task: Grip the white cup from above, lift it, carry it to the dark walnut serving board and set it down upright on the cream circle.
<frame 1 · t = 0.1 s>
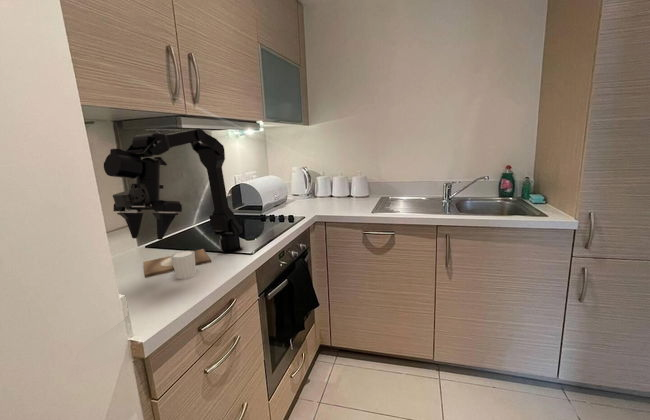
hand: (147, 238, 87), 15 cm above the worktop, tool pointing down, fingers open, 9 cm apart
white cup: (186, 276, 101), on the worktop
serving board: (177, 263, 112), on the worktop
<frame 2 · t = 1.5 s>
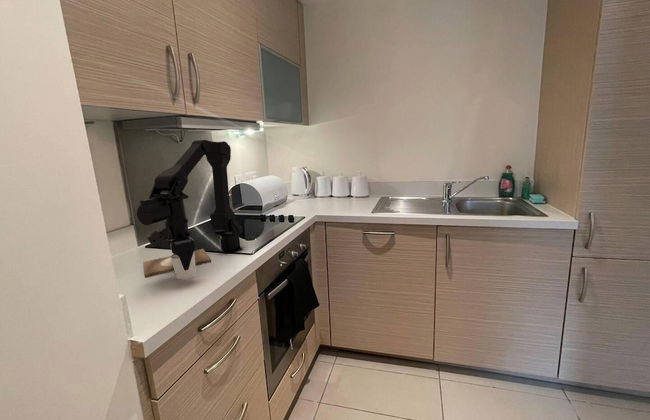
hand: (184, 265, 100), 3 cm above the worktop, tool pointing down, fingers open, 9 cm apart
nothing on the worktop moved.
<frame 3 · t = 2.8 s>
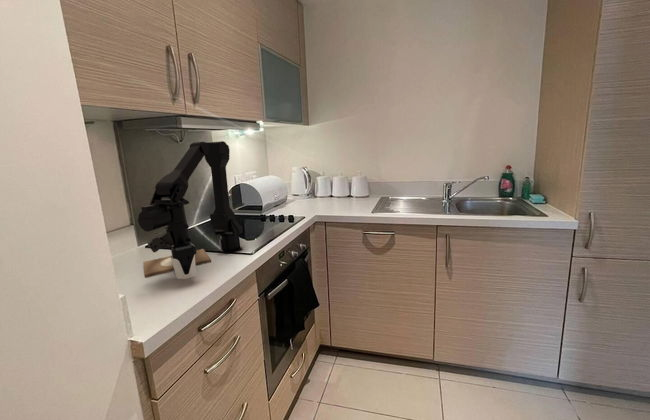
hand: (185, 270, 100), 2 cm above the worktop, tool pointing down, fingers closed on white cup, 6 cm apart
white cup: (186, 275, 101), on the worktop, touching gripper
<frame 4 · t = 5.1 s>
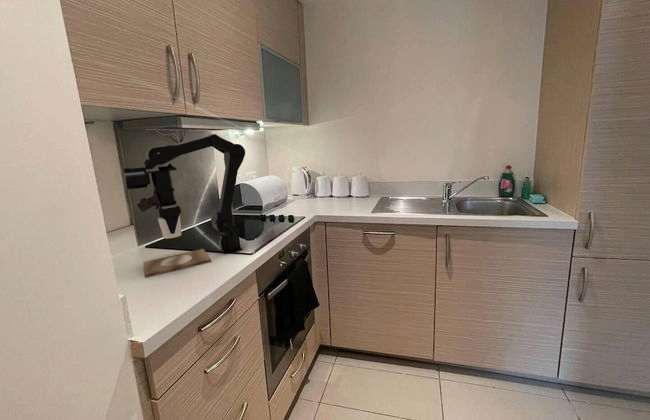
hand: (171, 231, 109), 11 cm above the worktop, tool pointing down, fingers closed on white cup, 6 cm apart
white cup: (172, 236, 110), point 10 cm above the worktop, touching gripper
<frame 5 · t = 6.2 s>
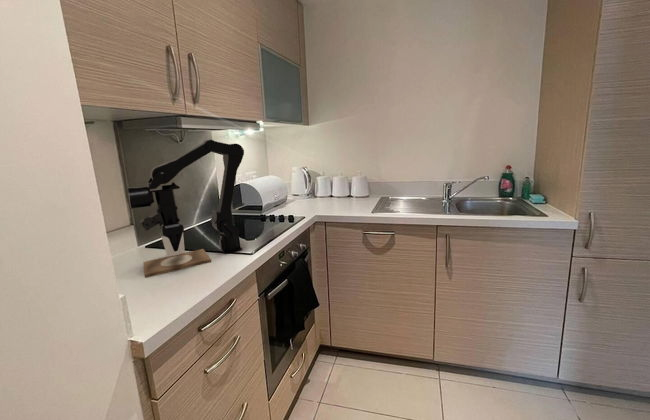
hand: (174, 248, 111), 5 cm above the worktop, tool pointing down, fingers closed on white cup, 6 cm apart
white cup: (176, 253, 111), point 4 cm above the worktop, touching gripper
when the fingers open (4 cm above the worktop, at t = 7.4 s): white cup drops 1 cm, resting on serving board.
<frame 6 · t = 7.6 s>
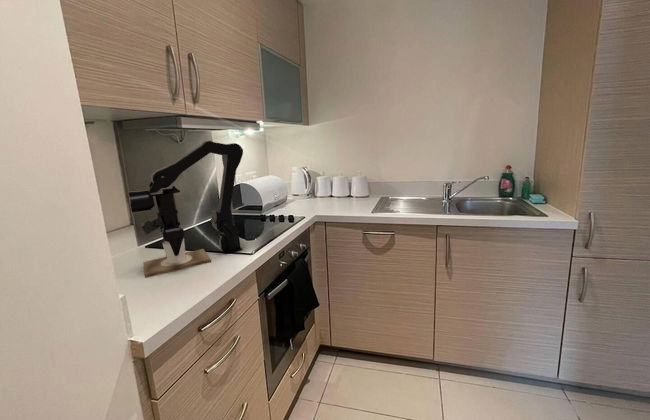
hand: (175, 252, 111), 4 cm above the worktop, tool pointing down, fingers open, 8 cm apart
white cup: (177, 260, 112), point 1 cm above the worktop, touching serving board
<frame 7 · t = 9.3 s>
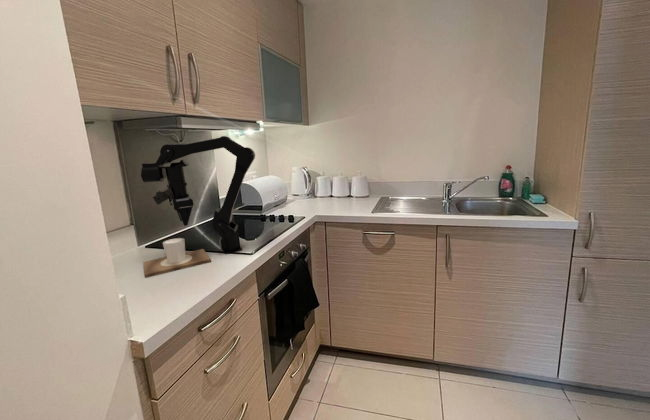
hand: (183, 223, 118), 12 cm above the worktop, tool pointing down, fingers open, 9 cm apart
nothing on the worktop moved.
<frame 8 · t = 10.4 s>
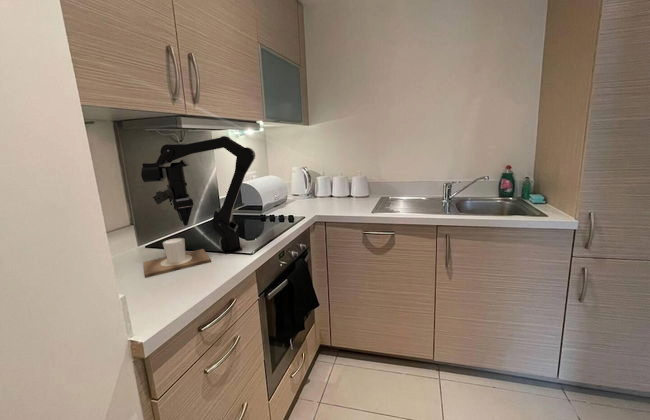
hand: (183, 223, 118), 12 cm above the worktop, tool pointing down, fingers open, 9 cm apart
nothing on the worktop moved.
at the end: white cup inside the target area on the serving board (0.2 cm from its centre), point 0.9 cm above the serving board's base; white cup tilted 0°; the gripper is holding nothing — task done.
